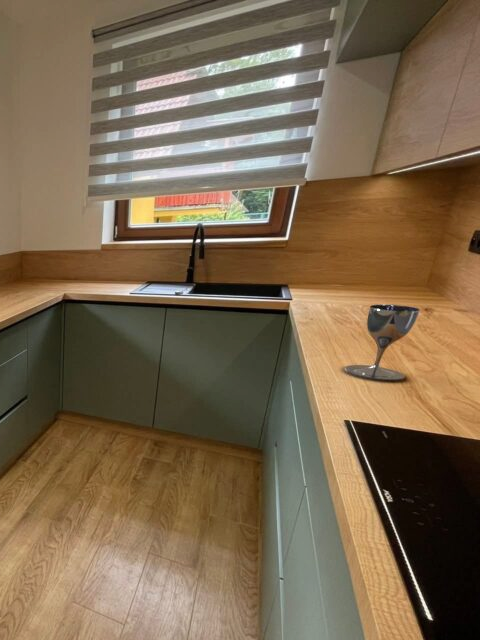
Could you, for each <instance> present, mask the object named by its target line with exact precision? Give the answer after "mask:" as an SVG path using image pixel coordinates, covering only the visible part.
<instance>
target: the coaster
mask: <svg viewBox="0 0 480 640" xmlns="http://www.w3.org/2000/svg"><path fill="white" fill-rule="evenodd" d="M372 366H373V365H368V364H367V365H366V364H351V365H350V364H349V365H347V366H345V367H344V369H343V371H344V372H345V373H346V374H347V375H349V376H351V377H352V376H353V377H355V378H360V379H363V380H368V381H373V382H374V381H375V382H383V383H384V382H385V383H393V382H394V383H395V382H396V383H397V382H402V381H404V380H405V375H404V374H403V373H402V372H400V371H397V370H394V369H391V368H386V367H382V366H379V367H380V368H381V369H385V370H388V371H391V372H393V373H395V376H392V377H379V376H371V375H366V374H362V373H359V372H357V371H355V370H354V369H355V368H356V367H372Z"/></svg>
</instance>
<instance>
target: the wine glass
mask: <svg viewBox="0 0 480 640" xmlns="http://www.w3.org/2000/svg"><path fill="white" fill-rule="evenodd" d="M420 311H421V310H420V308H418V307H414V306H409V305H408V306H407V305H398V304H372V305H370V307H369V309H368V311H367V312H368V313H367V317H366V330H367V332H368V334H369V337H371V338H372V340H373V341H374V342H375V345H376V349H377V350H376V357H375V362H374V363H373V365H371V366H372V367H356V368H355V369H354V370H355V371H357V372H359V373H362V374H366V375H371V376H379V377H392V376H395V373H393V372H391V371H388V370H385V369H381V368H380V367H381V366H380V363H381V360H382V357H383V355H384V353H385V351H386V350H387V349H388V347H390V346H391V345H393V344H394V343H395V342H397V341H399V340H401V339H403V338H404V337H406V336H407V335H408V334H409V333H410V331H411V330H412V329H413V327H414V325H415V323H416V321H417V319H418V316H419V314H420Z"/></svg>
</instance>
